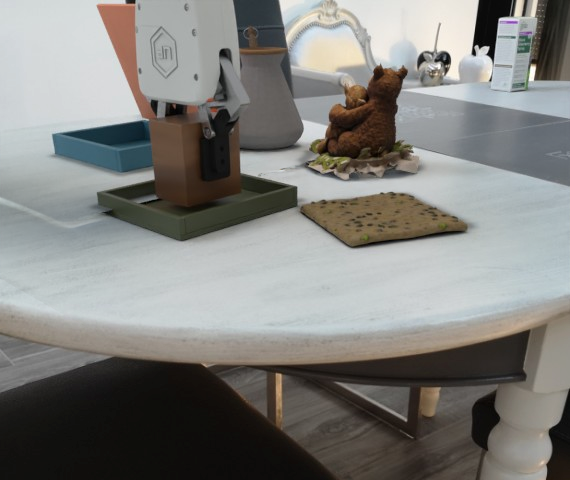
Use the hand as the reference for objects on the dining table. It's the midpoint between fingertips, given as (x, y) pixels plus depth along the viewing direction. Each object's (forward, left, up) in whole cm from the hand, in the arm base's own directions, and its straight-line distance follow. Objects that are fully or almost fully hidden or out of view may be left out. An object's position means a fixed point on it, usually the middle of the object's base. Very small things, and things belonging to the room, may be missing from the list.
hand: (197, 172), depth 66 cm
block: (0, 0, -2) cm, 2 cm away
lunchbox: (+9, +24, -4) cm, 26 cm away
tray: (0, 0, -4) cm, 4 cm away
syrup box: (+106, +21, -4) cm, 108 cm away
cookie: (+9, -16, -4) cm, 19 cm away
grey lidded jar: (+28, +20, -4) cm, 35 cm away
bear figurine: (+26, 0, -4) cm, 26 cm away
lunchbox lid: (+13, +24, +7) cm, 28 cm away
